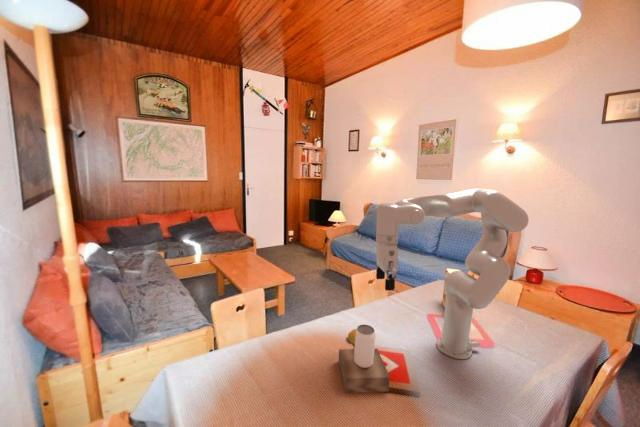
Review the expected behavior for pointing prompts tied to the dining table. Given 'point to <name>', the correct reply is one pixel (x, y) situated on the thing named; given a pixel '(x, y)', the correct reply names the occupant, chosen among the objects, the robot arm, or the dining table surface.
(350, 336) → the bread roll
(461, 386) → the dining table surface
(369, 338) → the can
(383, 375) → the block
